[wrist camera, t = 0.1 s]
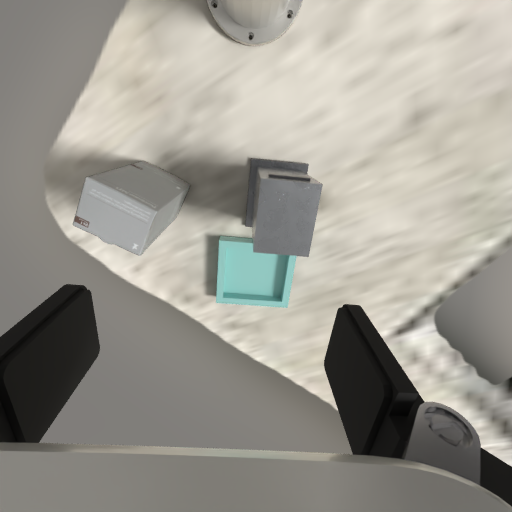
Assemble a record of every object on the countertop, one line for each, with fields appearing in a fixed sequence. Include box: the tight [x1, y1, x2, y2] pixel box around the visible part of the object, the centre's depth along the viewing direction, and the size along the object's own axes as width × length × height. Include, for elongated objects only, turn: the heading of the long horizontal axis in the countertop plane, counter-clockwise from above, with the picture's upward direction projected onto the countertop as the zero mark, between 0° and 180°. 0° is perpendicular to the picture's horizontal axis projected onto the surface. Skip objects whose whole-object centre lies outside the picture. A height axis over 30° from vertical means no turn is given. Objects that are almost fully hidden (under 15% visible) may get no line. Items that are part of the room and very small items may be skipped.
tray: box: [216, 236, 296, 308], centre depth 50 cm, size 12×13×2 cm
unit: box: [245, 158, 323, 257], centre depth 39 cm, size 11×9×14 cm
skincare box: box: [73, 161, 190, 256], centre depth 37 cm, size 8×7×16 cm
